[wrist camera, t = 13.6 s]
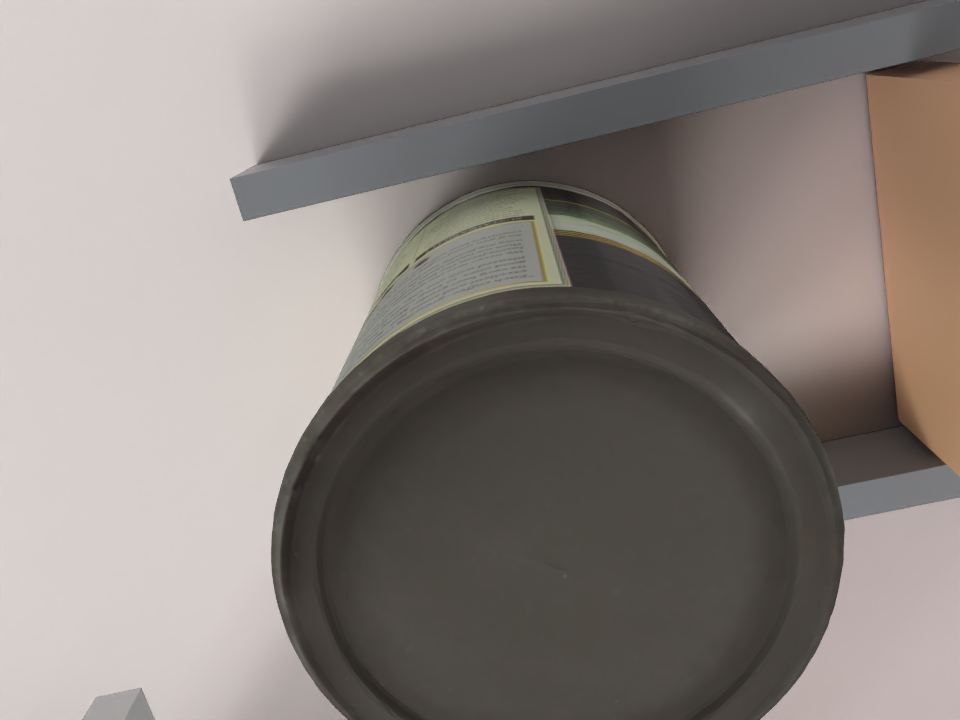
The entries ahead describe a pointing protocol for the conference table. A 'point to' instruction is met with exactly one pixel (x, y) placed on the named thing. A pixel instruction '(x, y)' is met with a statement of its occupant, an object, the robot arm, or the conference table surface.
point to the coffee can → (553, 487)
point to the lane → (635, 102)
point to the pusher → (921, 242)
